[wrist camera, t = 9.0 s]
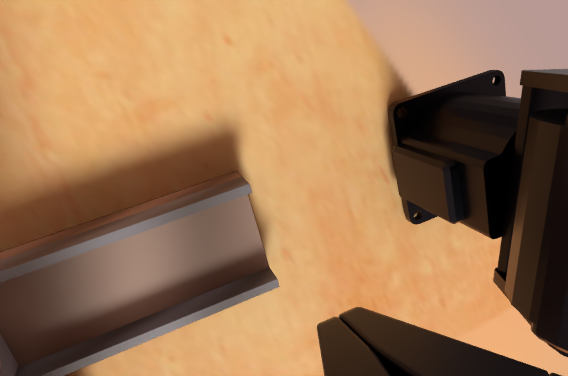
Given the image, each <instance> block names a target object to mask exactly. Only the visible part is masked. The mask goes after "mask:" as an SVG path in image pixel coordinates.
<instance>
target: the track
mask: <svg viewBox="0 0 568 376" xmlns="http://www.w3.org/2000/svg"><path fill="white" fill-rule="evenodd" d="M250 193H252V191H251V187H250V184H249V183H248V182H247V181H246V180H245V179H244V178H243V177H242V176H241V175H240V174H239V172H238V171H235V172H232V173H229V174H227V175H224V176H221V177H218V178H215V179H212V180H209V181H206V182H203V183H200V184H197V185H194V186H192V187H189V188H186V189H183V190H180V191H177V192H174V193H171V194H168V195H165V196H162V197H160V198H157V199H154V200H151V201H148V202H145V203H142V204H139V205H136V206H133V207H130V208H128V209H125V210H122V211H119V212H116V213H113V214H110V215H107V216H104V217H101V218H98V219H95V220H93V221H90V222H87V223H84V224H81V225H78V226H75V227H72V228H69V229H66V230H63V231H61V232H58V233H55V234H52V235H49V236H46V237H43V238H40V239H37V240H34V241H31V242H29V243H26V244H23V245H20V246H17V247H14V248H11V249H8V250H5V251H2V252H0V334H1V336H2V337H3V339H4V341H5V343H6V344H7V346H8V348H9V349H10V351H11V353H12V355H13V356H14V358H15V360H16V362H17V363H18V368H17V371H16V374H15V376H64V375H67V374H69V373H72V372H74V371H76V370H79V369H81V368H84V367H86V366H89V365H91V364H93V363H96V362H98V361H101V360H103V359H105V358H108V357H110V356H113V355H115V354H118V353H120V352H122V351H125V350H127V349H130V348H132V347H135V346H137V345H139V344H142V343H144V342H147V341H149V340H151V339H154V338H156V337H159V336H161V335H164V334H166V333H168V332H171V331H173V330H176V329H178V328H180V327H183V326H185V325H188V324H190V323H193V322H195V321H197V320H200V319H202V318H205V317H207V316H210V315H212V314H214V313H217V312H219V311H222V310H224V309H226V308H229V307H231V306H234V305H236V304H239V303H241V302H243V301H246V300H248V299H251V298H253V297H256V296H258V295H260V294H263V293H265V292H268V291H270V290H272V289H275V288H277V287H280V286H279V283H278V280H277V278H276V276H275V275H274V273H273V272H272V270H271V269H270V268H269V264H268V261H267V258H266V254H265V251H264V248H263V244H262V241H261V238H260V234H259V231H258V227H257V224H256V221H255V217H254V214H253V211H252V207H251V204H250V201H249V197H248V194H250Z"/></svg>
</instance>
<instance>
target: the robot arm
mask: <svg viewBox="0 0 568 376" xmlns="http://www.w3.org/2000/svg"><path fill="white" fill-rule="evenodd" d="M521 73H522V74H521V80H520V85H523V88H522V95H521V98H513V97H506V91H505V77H504V74H503V73H502V71H499V70H489V71H486V72H483V73H480V74H477V75H474V76H472V77H468V78H465V79H463V80H459V81H457V82H453V83H451V84H448V85H444V86H441V87H439V88H436V89H432V90H430V91H427V92H424V93H421V94H418V95H415V96H412V97H409V98H406V99H403V100H400V101H397V102H395V103H393V104H392V105H391V106H390V108H389V120H390V126H391V132H392V139H393V145H394V148H393V151H392V155H393V161H394V167H395V173H396V179H397V184H398V190H399V195H400V196H401V197H402V199H403V205H404V211H405V217H406V219H407V220H408V221H409V222H411V223H413V224H420V223H423V222H425V221H428V220H430V219H432V218H435V217H437V216H439V217H441V218H442V219H444V220H446V221H448V222H450V223H452V224H456V223H458V222H460V223H462V224H464V225H466V226H468V227H470V228H472V229H474V230H476V231H478V232H480V233H481V234H483V235H485V236H487V237H489V238H491V239H497V238H499V237H502V240H501V247H500V254H499V262H498V268H495V271H494V278H493V281H494V283H495V284H496V285H497V286H498V287H499V289H500V290H501V291H502V292H503V293H504V294H505V296H506V297H507V298H508V299H509V301H510V303H511V305H513V306H514V307H515V308H516V309H517V310H518V311H519V312H520V313H521V314H522V316H523V317H524V318H525V319H526V320H527V322H528V323H529V324H530V325H531V330H532V332H533V333H534V334H535V335H536V336H537V337H538V338H539V339H541V340H543V341H544V342H546V343H547V344H548V345H549V346H550V347H552V348H553V349H555V350H556V351H558V352H559V353H560V354H562V355H564V356H566V357H568V69H549V70H522V72H521ZM494 77H495V81H494V83H492V80H493V78H494ZM400 108H401V109H402V114H401V116H399V117H398V110H399V109H400ZM417 211H418V214H417V215H416V216H415V217H414V214H415V212H417ZM317 332H318V338H319V344H320V351H321V357H322V364H323V370H324V376H561V375H558V374H555V373H551V374H550V375H549V374H548V372H547V371H546V370H543V369H540V368H537V367H534V366H531V365H528V364H526V363H523V362H520V361H516V360H514V359H511V358H508V357H505V356H502V355H499V354H496V353H493V352H491V351H487V350H485V349H482V348H479V347H476V346H473V345H470V344H467V343H464V342H461V341H458V340H456V339H453V338H450V337H447V336H444V335H441V334H438V333H435V332H432V331H429V330H426V329H423V328H420V327H418V326H415V325H412V324H409V323H406V322H403V321H400V320H397V319H394V318H391V317H388V316H385V315H382V314H380V313H377V312H374V311H371V310H368V309H365V308H362V307H355V308H353V309H350V310H348V311H346V312H344V313H341V314H340V315H339V317H332V318H330V319H328V320H326V321H323V322H321V323H319V324H318V325H317Z"/></svg>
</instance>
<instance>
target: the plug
mask: <svg viewBox="0 0 568 376" xmlns="http://www.w3.org/2000/svg"><path fill="white" fill-rule="evenodd" d="M17 368H18V363H17V362H16V360H15V358H14V356H13V355H12V353H11V351H10V349H9V348H8V346H7V344H6V343H5V341H4V339H3V337H2V336H1V334H0V376H15V374H16V371H17Z"/></svg>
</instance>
